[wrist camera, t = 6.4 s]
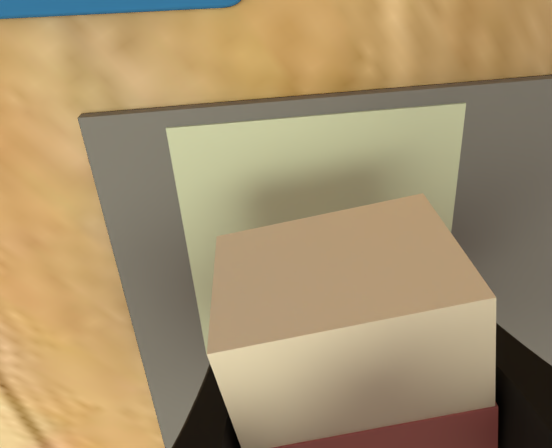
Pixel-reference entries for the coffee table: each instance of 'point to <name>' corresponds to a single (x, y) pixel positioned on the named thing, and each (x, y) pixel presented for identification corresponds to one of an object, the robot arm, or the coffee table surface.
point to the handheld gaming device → (100, 6)
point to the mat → (319, 197)
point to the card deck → (354, 332)
